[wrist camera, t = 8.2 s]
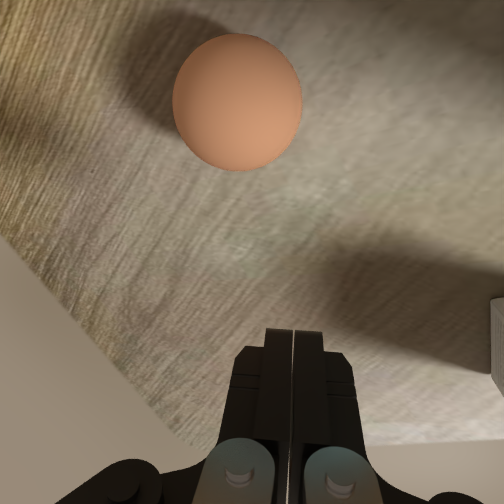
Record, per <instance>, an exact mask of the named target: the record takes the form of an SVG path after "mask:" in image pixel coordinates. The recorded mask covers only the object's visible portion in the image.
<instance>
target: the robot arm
mask: <svg viewBox="0 0 504 504" xmlns="http://www.w3.org/2000/svg"><path fill="white" fill-rule="evenodd" d="M292 342H293V330H286V329H271V328H266V333H265V342H264V347H255V346H245V347H244V348H243V349H242V351H241V352H240V353H239V354H238V355H237V357H236V358H235V361H234V366H233V370H232V376H231V380H230V385H229V390H228V394H227V399H226V404H225V409H224V414H223V418H222V423H221V428H220V433H219V438H218V441H217V444H216V446H215V447H214V448H213V449H212V451H211V452H210V453H209V455H208V456H207V457H206V458H205V459H204V460H203V461H201V462H199V463H198V464H196V465H194V466H191V467H189V468H186V469H182V470H177V471H172V472H168V473H163V474H159V472H158V470H157V469H156V468H155V467H154V466H153V465H152V464H150V463H149V462H147V461H144V460H140V459H126V460H122V461H118V462H116V463H113V464H111V465H110V466H108V467H106V468H105V469H103V470H102V471H100V472H99V473H98V474H96V475H95V476H93V477H92V478H91V479H89V480H88V481H86V482H85V483H83V484H82V485H81V486H79V487H78V488H76V489H75V490H74V491H72V492H71V493H69V494H68V495H66V496H65V497H64V498H62V499H61V500H59V501H58V502H56V503H55V504H286V491H287V477H288V462H289V491H288V492H289V493H288V504H483V503H482V502H480V501H478V500H477V499H475V498H473V497H471V496H468V495H465V494H462V493H457V492H443V493H440V494H437V495H435V496H434V497H432V498H431V499H430V500H429V502H428V501H425V500H423V499H420V498H418V497H416V496H413V495H411V494H408V493H406V492H403V491H401V490H399V489H397V488H395V487H393V486H392V485H390V484H388V483H387V482H386V481H385V480H383V479H382V478H381V477H380V476H379V475H378V474H377V473H376V471H375V470H374V469H373V468H372V466H371V464H370V462H369V460H368V458H367V455H366V451H365V445H364V439H363V433H362V426H361V420H360V414H359V408H358V402H357V395H356V389H355V386H354V377H353V371H352V366H351V365H350V364H349V362H348V361H347V359H346V358H345V357H344V355H343V354H342V353H339V352H325V351H324V348H323V335H322V332H316V331H302V330H295V336H294V351H293V367H292ZM291 381H292V383H291ZM289 448H290V453H289Z"/></svg>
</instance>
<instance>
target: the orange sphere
mask: <svg viewBox="0 0 504 504" xmlns="http://www.w3.org/2000/svg"><path fill="white" fill-rule="evenodd" d="M172 105H173V114H174V119H175V123H176V126H177V129H178V131H179V133H180V135H181V137H182V139H183V140H184V142H185V143H186V145H187V146H188V147H189V148H190V150H191V151H192V152H193V153H194V154H195V155H196V156H198V157H199V158H200V159H201V160H203V161H205V162H206V163H208V164H210V165H212V166H214V167H217V168H220V169H223V170H228V171H248V170H253V169H256V168H259V167H262V166H264V165H266V164H268V163H270V162H271V161H273V160H274V159H276V158H277V157H278V156H279V155H280V154H281V153H282V152H283V151H284V150H285V149H286V148H287V147H288V146H289V144H290V143H291V141H292V139H293V138H294V136H295V134H296V132H297V129H298V127H299V123H300V119H301V114H302V93H301V87H300V83H299V80H298V77H297V75H296V72H295V70H294V68H293V67H292V65H291V63H290V62H289V61H288V59H287V58H286V57H285V56H284V55H283V53H282V52H281V51H279V50H278V49H277V48H276V47H275V46H273V45H272V44H270V43H269V42H267V41H265V40H263V39H260V38H258V37H255V36H252V35H247V34H226V35H221V36H218V37H215V38H213V39H210V40H208V41H207V42H205V43H203V44H202V45H200V46H199V47H198V48H196V49H195V50H194V51H193V52H192V53H191V54H190V56H189V57H188V58H187V59H186V60H185V62H184V63H183V65H182V67H181V69H180V71H179V73H178V75H177V77H176V81H175V84H174V90H173V97H172Z"/></svg>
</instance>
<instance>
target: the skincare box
mask: <svg viewBox="0 0 504 504" xmlns="http://www.w3.org/2000/svg"><path fill="white" fill-rule="evenodd" d="M490 303H491V377H492V379H493V381H494V383H495V384H496V386H497V387H498V389H499V390H500V392H501V394H502V395H503V397H504V297H502V298H496V299H492V300H491V302H490Z"/></svg>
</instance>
